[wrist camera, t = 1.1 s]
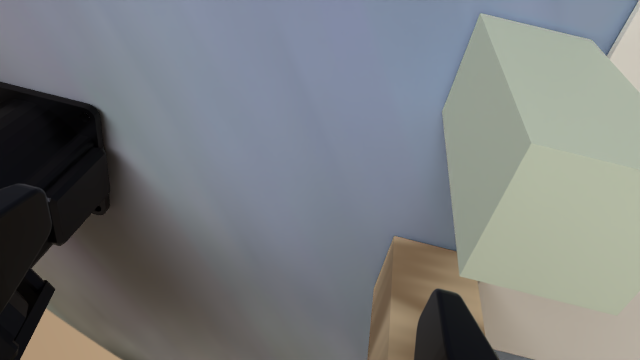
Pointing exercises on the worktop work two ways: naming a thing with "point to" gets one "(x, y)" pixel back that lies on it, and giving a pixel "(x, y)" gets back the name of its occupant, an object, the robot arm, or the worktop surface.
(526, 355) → the mat
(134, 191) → the worktop surface
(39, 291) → the robot arm
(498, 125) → the sage block
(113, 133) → the worktop surface
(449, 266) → the oak block
